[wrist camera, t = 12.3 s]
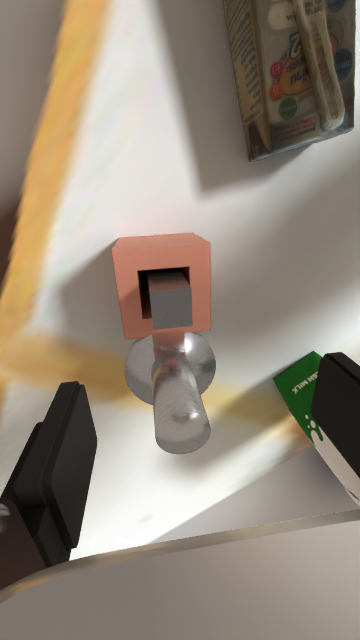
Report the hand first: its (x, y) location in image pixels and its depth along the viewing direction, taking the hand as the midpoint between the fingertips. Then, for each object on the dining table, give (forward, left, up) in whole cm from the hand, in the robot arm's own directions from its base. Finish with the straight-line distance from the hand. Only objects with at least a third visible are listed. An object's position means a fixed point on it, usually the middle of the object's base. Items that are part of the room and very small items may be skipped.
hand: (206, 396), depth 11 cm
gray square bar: (0, 0, -22) cm, 22 cm away
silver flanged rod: (0, +8, -22) cm, 23 cm away
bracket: (0, +2, -22) cm, 22 cm away
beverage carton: (-11, -20, -23) cm, 32 cm away
